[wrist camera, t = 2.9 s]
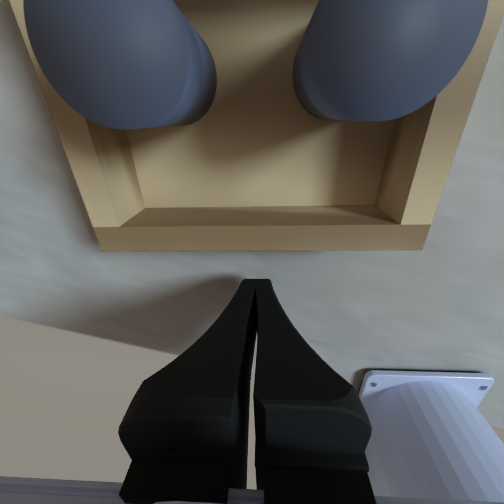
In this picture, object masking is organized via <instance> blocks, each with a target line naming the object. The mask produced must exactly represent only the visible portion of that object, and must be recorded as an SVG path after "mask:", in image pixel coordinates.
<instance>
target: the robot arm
mask: <svg viewBox="0 0 504 504" xmlns="http://www.w3.org/2000/svg"><path fill="white" fill-rule="evenodd" d="M256 333H257V337H258V339H257V355H256V369H255V382H254V393H253V399H254V416H255V417H254V418H255V435H256V441H255V442H256V443H255V468H256V484H257V490H251V489H246V487H247V486H246V485H247V456H248V426H249V402H250V380H251V370H252V363H253V356H254V348H255V341H256ZM493 384H494V379H493V378H492V377H491V375H489V374H486V373H458V372H420V371H383V370H371V371H368V372H367V373H366V374H365V376H364V379H363V382H362V385H361V389H360V392H359V395H358V394H357V392H356V390H355V389H354V387H353V386H352V385H351V384H350V383H348V382H347V381H346V380H345V379H344V378H342V377H341V376H340V375H339V374H338V373H336V372H335V371H334V370H333V369H332V368H331V367H330V366H329V365H328V364H327V363H326V362H325V361H323V360H322V359H321V357H320V356H319V355H318V354H317V353H316V352H315V351H314V350H313V349H312V348H311V347H310V346H309V345H308V344H307V342H306V341H305V340H304V339H303V338H302V336H301V335H300V334H299V332H298V331H297V330H296V329H295V327H294V326H293V324H292V323H291V321H290V320H289V318H288V317H287V315H286V314H285V312H284V310H283V308H282V306H281V305H280V303H279V301H278V299H277V297H276V294H275V292H274V290H273V287H272V283H271V280H270V279H243V280H242V282H241V284H240V286H239V288H238V290H237V292H236V293H235V295H234V297H233V298H232V300H231V301H230V303H229V304H228V306H227V307H226V308H225V310H224V311H223V312H222V314H221V315H220V316H219V318H218V319H217V320H216V321H215V322H214V324H213V325H212V326H211V327H210V328H209V329H208V330H207V331H206V332H205V333H204V334H203V335H202V336H201V337H200V338H199V339H198V340H197V341H196V342H195V343H194V344H193V345H192V346H191V347H189V348H188V349H187V350H186V351H185V352H183V353H182V354H181V355H180V356H178V357H177V358H176V359H175V360H173V361H172V362H171V363H169V364H168V365H167V366H165V367H164V368H162V369H161V370H160V371H158V372H156V373H155V374H153V375H152V376H150V377H149V378H147V379H146V380H144V381H143V382H142V384H141V386H140V388H139V389H138V391H137V392H136V394H135V396H134V398H133V399H132V401H131V403H130V405H129V407H128V409H127V412H126V414H125V416H124V418H123V420H122V422H121V424H120V426H119V431H118V434H119V437H120V440H121V442H122V444H123V446H124V447H125V449H126V451H127V452H128V454H129V456H130V458H131V459H132V462H131V464H130V467H129V469H128V472H127V475H126V477H125V480H124V482H123V483H117V482H97V481H79V480H77V481H76V480H59V479H40V478H39V479H38V478H21V477H1V476H0V504H504V444H503V443H502V442H501V440H500V439H499V438H498V436H497V435H496V433H495V432H494V431H493V429H492V428H491V427H490V425H489V424H488V423H487V421H486V420H485V418H484V417H483V416H482V414H481V413H480V412H479V410H478V409H477V406H478V405H479V403H480V402H481V401H482V399H483V398H484V396H485V395H486V394H487V392H488V391H489V389H490V388H491V387H492V385H493Z"/></svg>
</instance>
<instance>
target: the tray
mask: <svg viewBox="0 0 504 504" xmlns="http://www.w3.org/2000/svg"><path fill="white" fill-rule="evenodd" d="M9 1H10V4H11V6H12V9H13V12H14V15H15V17H16V20H17V23H18V25H19V28H20V31H21V34H22V36H23V39H24V42H25V44H26V47H27V50H28V52H29V55H30V58H31V61H32V63H33V66H34V69H35V71H36V74H37V77H38V80H39V82H40V85H41V88H42V90H43V93H44V96H45V99H46V101H47V104H48V107H49V109H50V112H51V115H52V118H53V120H54V123H55V126H56V128H57V131H58V134H59V136H60V139H61V142H62V145H63V147H64V150H65V153H66V155H67V158H68V161H69V164H70V166H71V169H72V172H73V174H74V177H75V180H76V183H77V185H78V188H79V191H80V193H81V196H82V199H83V201H84V204H85V207H86V210H87V212H88V215H89V218H90V220H91V223H92V226H93V229H94V231H95V234H96V237H97V239H98V242H99V245H100V248H101V250H102V251H324V250H422V249H423V246H424V243H425V240H426V237H427V234H428V231H429V228H430V226H431V223H432V220H433V217H434V214H435V211H436V208H437V205H438V202H439V200H440V197H441V194H442V191H443V188H444V185H445V182H446V179H447V176H448V174H449V171H450V168H451V165H452V162H453V159H454V156H455V153H456V150H457V148H458V145H459V142H460V139H461V136H462V133H463V130H464V127H465V124H466V121H467V119H468V116H469V113H470V110H471V107H472V104H473V101H474V98H475V95H476V93H477V90H478V87H479V84H480V81H481V78H482V75H483V72H484V69H485V67H486V64H487V61H488V58H489V55H490V52H491V49H492V46H493V43H494V41H495V38H496V35H497V32H498V29H499V26H500V23H501V20H502V17H503V14H504V0H9Z"/></svg>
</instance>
